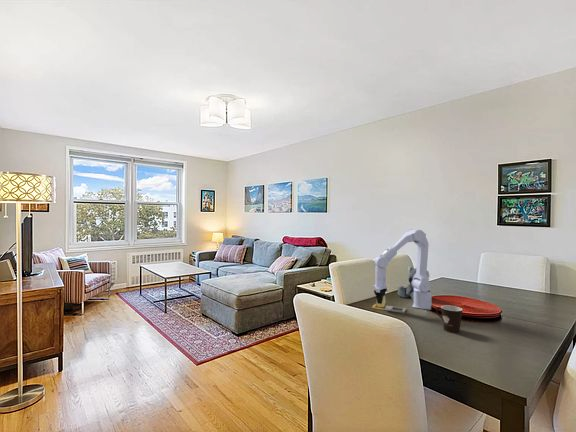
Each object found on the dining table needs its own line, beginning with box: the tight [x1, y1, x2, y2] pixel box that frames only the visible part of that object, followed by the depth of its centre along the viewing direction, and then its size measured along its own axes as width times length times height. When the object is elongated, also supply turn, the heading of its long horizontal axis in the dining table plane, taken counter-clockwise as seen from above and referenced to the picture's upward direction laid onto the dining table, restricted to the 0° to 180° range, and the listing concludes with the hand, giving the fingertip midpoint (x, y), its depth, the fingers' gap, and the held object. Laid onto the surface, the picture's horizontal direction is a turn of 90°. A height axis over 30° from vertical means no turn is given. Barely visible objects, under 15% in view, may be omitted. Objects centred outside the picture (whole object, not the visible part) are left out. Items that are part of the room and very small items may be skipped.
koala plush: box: [397, 265, 431, 302], centre depth 192 cm, size 17×18×20 cm
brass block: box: [375, 294, 386, 308], centre depth 171 cm, size 4×4×7 cm
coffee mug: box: [435, 304, 463, 334], centre depth 140 cm, size 12×9×10 cm
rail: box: [371, 303, 407, 314], centre depth 169 cm, size 17×6×1 cm, turn 61°
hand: (380, 302), depth 171 cm, fingers closed on brass block, 4 cm apart
